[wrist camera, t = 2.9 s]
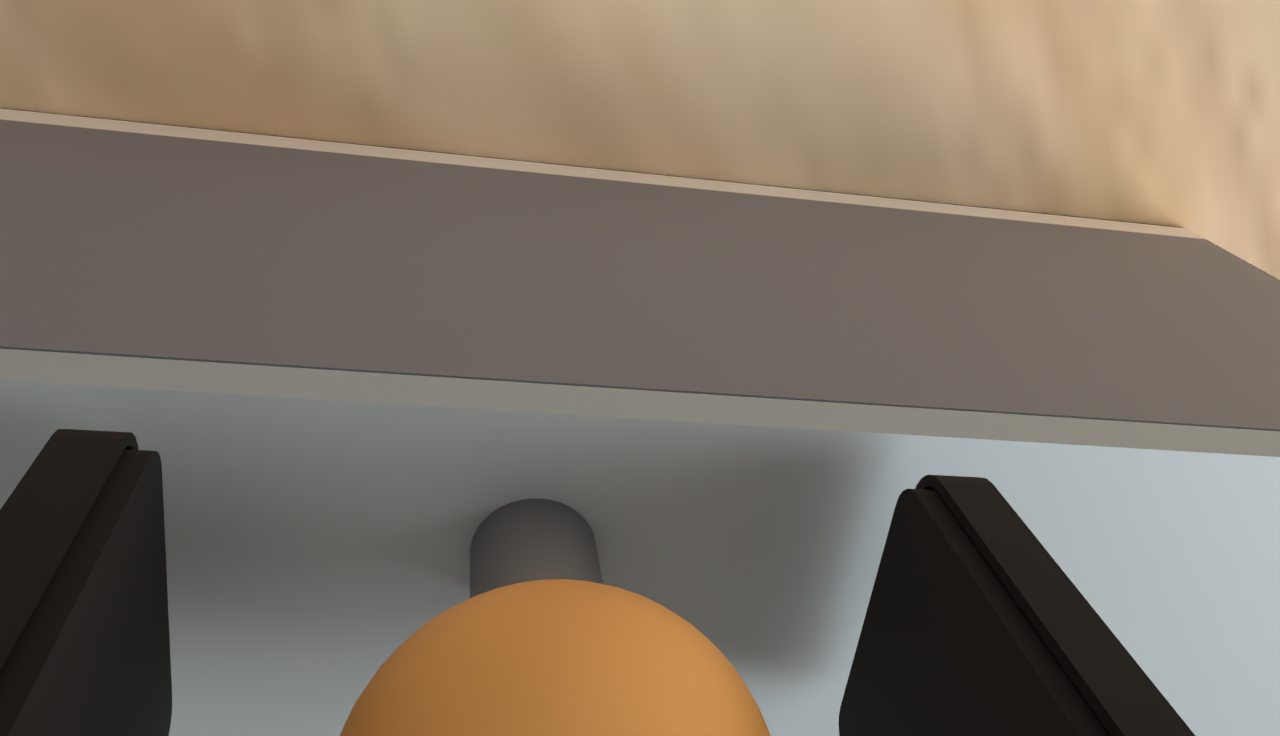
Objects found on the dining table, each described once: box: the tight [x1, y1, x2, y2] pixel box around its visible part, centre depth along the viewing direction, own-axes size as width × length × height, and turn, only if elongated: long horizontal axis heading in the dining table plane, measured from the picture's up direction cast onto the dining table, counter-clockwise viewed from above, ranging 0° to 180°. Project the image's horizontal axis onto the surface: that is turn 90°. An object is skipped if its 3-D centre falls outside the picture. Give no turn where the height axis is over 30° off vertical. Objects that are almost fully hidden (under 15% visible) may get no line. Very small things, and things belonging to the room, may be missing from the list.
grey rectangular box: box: [0, 108, 1280, 431], centre depth 17 cm, size 24×13×8 cm, turn 82°
